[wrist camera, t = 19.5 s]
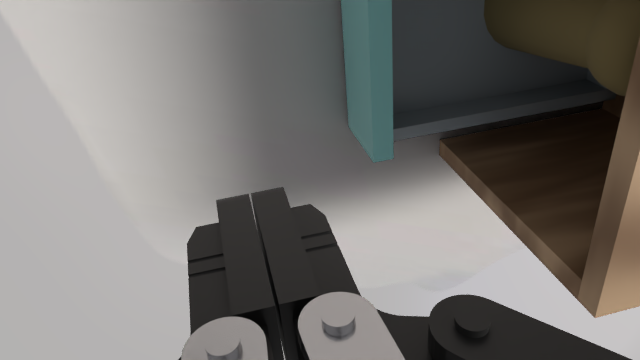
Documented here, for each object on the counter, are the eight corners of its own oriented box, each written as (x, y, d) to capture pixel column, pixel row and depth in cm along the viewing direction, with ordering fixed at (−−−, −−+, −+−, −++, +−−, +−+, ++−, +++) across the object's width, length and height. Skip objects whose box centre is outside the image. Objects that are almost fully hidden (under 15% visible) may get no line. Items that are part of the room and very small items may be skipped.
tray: (335, -79, 27) (365, -72, 23) (621, -113, 30) (694, -111, 26) (348, 126, 34) (373, 162, 29) (584, 83, 36) (638, 110, 32)
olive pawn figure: (487, 62, 33) (612, 136, 23) (478, -37, 29) (619, 3, 20) (575, 31, 33) (731, 91, 24) (576, -70, 30) (757, -47, 20)
